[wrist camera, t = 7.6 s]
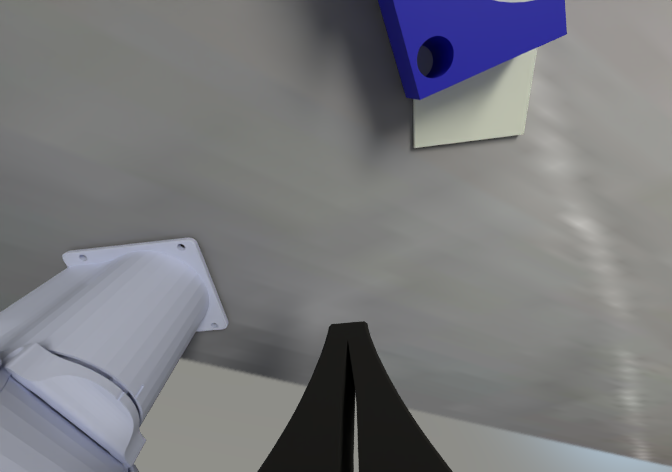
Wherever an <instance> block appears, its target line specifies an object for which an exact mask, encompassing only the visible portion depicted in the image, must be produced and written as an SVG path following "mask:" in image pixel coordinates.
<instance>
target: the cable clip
mask: <svg viewBox="0 0 672 472" xmlns="http://www.w3.org/2000/svg"><path fill="white" fill-rule="evenodd" d="M378 2H379V6H380V9H381V13H382V16H383V19H384V23H385V26H386V30H387V33H388V37H389V40H390V43H391V47H392V50H393V54H394V57H395V61H396V64H397V68H398V71H399V74H400V78H401V81H402V85H403V88H404V92H405V95H406V98H411V99H418V100H421V99H423V98H426V97H428V96H430V95H432V94H435V93H437V92H439V91H441V90H443V89H446V88H448V87H450V86H452V85H455V84H457V83H459V82H461V81H464V80H466V79H468V78H470V77H472V76H475V75H477V74H479V73H481V72H484V71H486V70H488V69H490V68H492V67H495V66H497V65H499V64H501V63H504V62H506V61H508V60H510V59H513V58H515V57H517V56H519V55H521V54H524V53H526V52H528V51H530V50H533V49H535V48H537V47H539V46H541V45H544V44H546V43H548V42H550V41H553V40H555V39H557V38H559V37H562V36H564V35H566V34H567V30H566V13H565V0H533V1H527V2H501V1H495V0H378ZM421 46H425V47H427V48H428V49H429V50H430V51H431V53H432V57H433V65H432V68H431V70H430V72H429V73H428V74H427V75H426V76H424V75H423V74H422V73H421V72H420V71H419V69H418V65H417V55H418V52H419V49H420V47H421Z"/></svg>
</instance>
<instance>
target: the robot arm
mask: <svg viewBox="0 0 672 472" xmlns="http://www.w3.org/2000/svg"><path fill="white" fill-rule="evenodd" d="M180 244H183V245H184V246H185V248H183V247H181V245H180ZM85 256H86V257H87V258H86V257H85ZM62 258H63V260H64V262H65V263H66V265H67V266H68V268H66V269H65V270H63V271H62V272H60V273H59V274H57V275H56V276H54V277H53V278H51V279H50V280H48V281H47V282H45V283H44V284H42V285H41V286H39V287H38V288H36V289H35V290H33V291H32V292H30V293H29V294H27V295H26V296H24V297H23V298H21V299H20V300H18V301H16V302H15V303H13V304H12V305H10V306H9V307H7V308H6V309H4V310H3V311H1V312H0V472H139V471H138V469H137V468H136V466H135V465H134V462H135V460H136V458H137V456H138V455H139V453H140V451H141V449H142V447H143V445H144V443H145V441H146V439H145V438H144V437H143V436H142V434H141V433H140V431H139V427H140V426H141V424H142V422H143V421H144V419H145V417H146V415H147V414H148V412H149V410H150V409H151V407H152V405H153V404H154V402H155V400H156V398H157V397H158V395H159V393H160V391H161V390H162V388H163V387H164V385H165V383H166V381H167V380H168V378H169V376H170V375H171V373H172V371H173V370H174V368H175V366H176V364H177V363H178V361H179V359H180V358H181V356H182V354H183V353H184V351H185V349H186V347H187V346H188V344H189V342H190V341H191V339H192V337H193V336H194V334H195V332H198V331H209V330H220V329H225V328H226V327H227V325H228V319H227V317H226V314H225V312H224V309H223V306H222V304H221V301H220V299H219V296H218V294H217V291H216V288H215V286H214V283H213V281H212V278H211V276H210V273H209V271H208V268H207V265H206V263H205V260H204V258H203V255H202V253H201V250H200V247H199V245H198V243H197V241H196V240H195V239H193V238H179V239H170V240H161V241H152V242H144V243H135V244H126V245H117V246H108V247H99V248H90V249H81V250H72V251H67V252H66V253H64V254H63V256H62ZM214 323H216V324H214ZM355 392H356V402H357V426H358V457H359V472H452V470H451V469H450V468H449V467H448V465H447V464H446V462H445V461H444V460H443V459H442V457H441V456H440V454H439V453H438V452H437V451H436V449H435V448H434V447H433V445H432V444H431V443H430V441H429V440H428V438H427V437H426V436H425V434H424V433H423V431H422V430H421V429H420V427H419V426H418V424H417V423H416V421H415V420H414V418H413V417H412V415H411V413H410V412H409V411H408V409H407V407H406V406H405V404H404V402H403V401H402V399H401V397H400V396H399V394H398V392H397V391H396V389H395V387H394V385H393V384H392V382H391V380H390V378H389V376H388V374H387V372H386V370H385V368H384V366H383V364H382V362H381V360H380V358H379V356H378V354H377V352H376V349H375V347H374V344H373V342H372V339H371V336H370V333H369V329H368V325H367V323H366V322H364V321H363V322H352V323H341V324H332V325H331V326H329V330H328V334H327V338H326V341H325V344H324V347H323V350H322V353H321V355H320V358H319V360H318V363H317V365H316V368H315V370H314V373H313V375H312V377H311V380H310V382H309V384H308V386H307V388H306V390H305V392H304V394H303V396H302V399H301V401H300V403H299V404H298V406H297V408H296V410H295V412H294V414H293V416H292V418H291V419H290V421H289V423H288V425H287V426H286V428H285V430H284V431H283V433H282V435H281V436H280V438H279V439H278V441H277V443H276V444H275V446H274V448H273V449H272V451H271V452H270V454H269V455H268V457H267V458H266V460H265V461H264V463H263V464H262V466H261V467H260V469H259V470H258V472H353V471H354V465H353V453H354V416H355V415H354V413H355Z"/></svg>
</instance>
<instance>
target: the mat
mask: <svg viewBox="0 0 672 472" xmlns="http://www.w3.org/2000/svg"><path fill="white" fill-rule="evenodd" d="M495 1H501V2H527V1H533V0H495ZM536 53H537V48H535V49H533V50H530V51H528V52H526V53H524V54H521V55H519V56H517V57H515V58H513V59H510V60H508V61H506V62H504V63H501V64H499V65H497V66H495V67H492V68H490V69H488V70H486V71H484V72H481V73H479V74H477V75H475V76H472V77H470V78H468V79H466V80H464V81H461V82H459V83H457V84H455V85H452V86H450V87H448V88H446V89H443V90H441V91H439V92H437V93H435V94H432V95H430V96H428V97H426V98H423V99H421V100H418V99H413V139H414V148H419V147H427V146H435V145H443V144H451V143H459V142H466V141H474V140H482V139H490V138H498V137H506V136H514V135H522V134H524V129H525V123H526V116H527V110H528V104H529V98H530V91H531V85H532V79H533V72H534V66H535V60H536ZM417 65H418V69H419V71H420V72H421V73H422V74H423V75H424V76H426V75H427V74H428V73H429V72H430V70H431V68H432V65H433V57H432V53H431V51H430V50H429V49H428V48H427V47H425V46H421V47H420V49H419V52H418V55H417Z"/></svg>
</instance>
